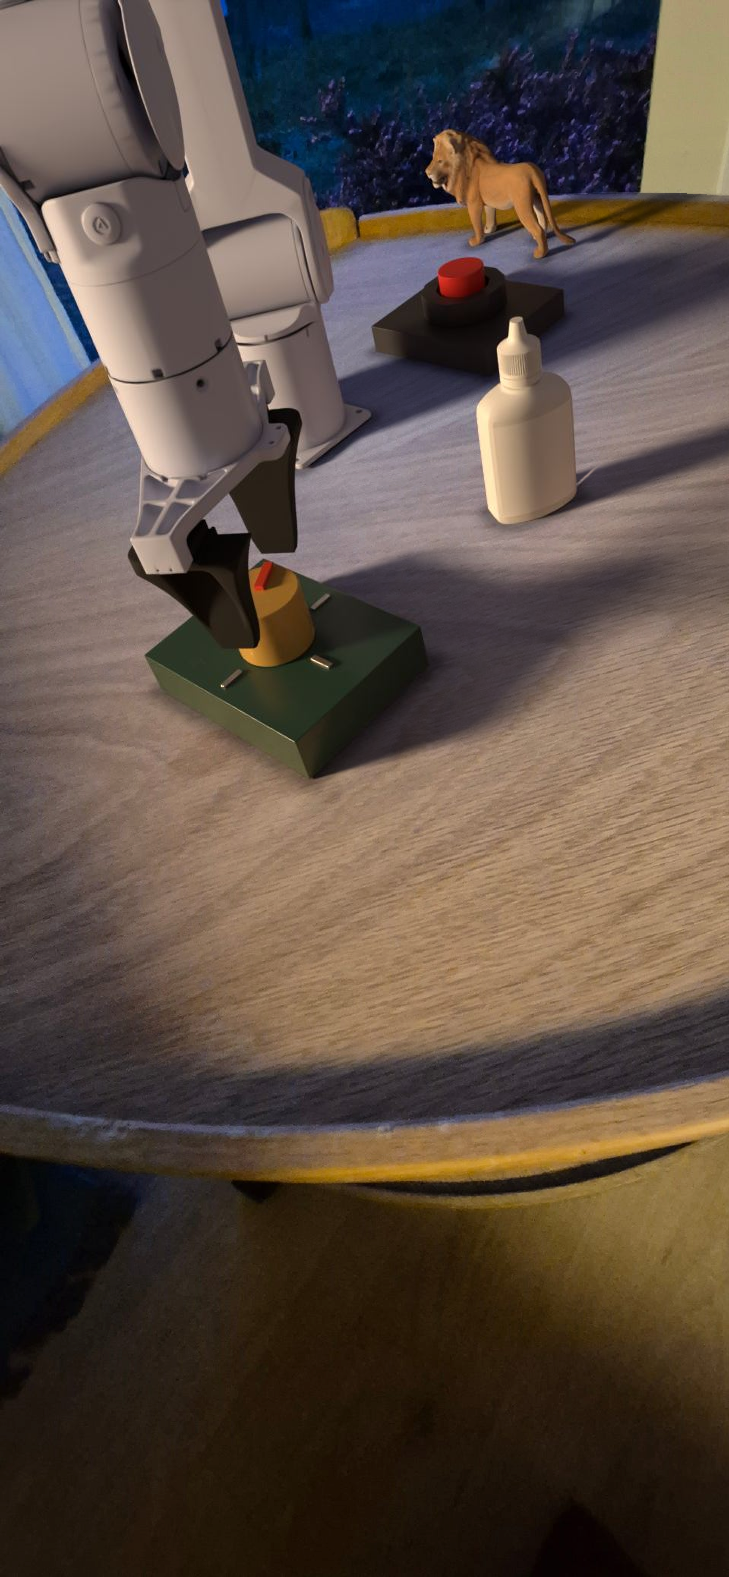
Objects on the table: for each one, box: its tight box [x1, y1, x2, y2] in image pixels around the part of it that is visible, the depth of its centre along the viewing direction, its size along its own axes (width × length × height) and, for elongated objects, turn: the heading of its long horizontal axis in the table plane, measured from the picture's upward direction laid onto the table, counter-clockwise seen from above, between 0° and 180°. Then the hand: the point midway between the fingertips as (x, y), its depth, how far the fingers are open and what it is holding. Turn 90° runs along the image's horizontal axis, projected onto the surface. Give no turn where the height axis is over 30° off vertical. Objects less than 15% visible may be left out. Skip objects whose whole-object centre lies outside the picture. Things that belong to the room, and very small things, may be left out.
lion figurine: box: [425, 128, 577, 259], centre depth 84 cm, size 15×5×9 cm, turn 50°
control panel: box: [143, 558, 430, 780], centre depth 54 cm, size 13×10×3 cm
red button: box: [437, 256, 486, 298], centre depth 74 cm, size 4×4×2 cm
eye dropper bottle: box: [476, 317, 578, 525], centre depth 57 cm, size 4×6×12 cm
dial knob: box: [239, 561, 315, 667], centre depth 52 cm, size 4×4×4 cm
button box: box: [371, 265, 566, 378], centre depth 76 cm, size 12×10×4 cm
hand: (261, 594), depth 51 cm, fingers open, 7 cm apart
